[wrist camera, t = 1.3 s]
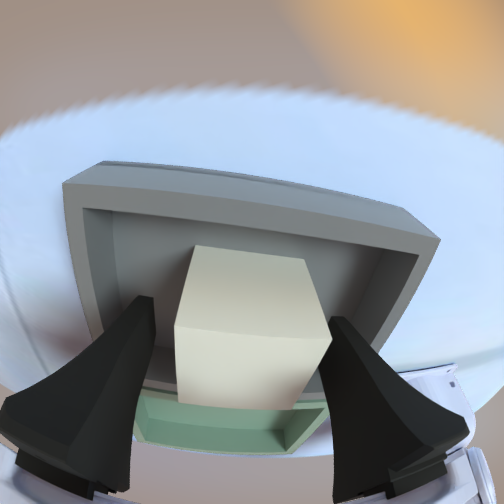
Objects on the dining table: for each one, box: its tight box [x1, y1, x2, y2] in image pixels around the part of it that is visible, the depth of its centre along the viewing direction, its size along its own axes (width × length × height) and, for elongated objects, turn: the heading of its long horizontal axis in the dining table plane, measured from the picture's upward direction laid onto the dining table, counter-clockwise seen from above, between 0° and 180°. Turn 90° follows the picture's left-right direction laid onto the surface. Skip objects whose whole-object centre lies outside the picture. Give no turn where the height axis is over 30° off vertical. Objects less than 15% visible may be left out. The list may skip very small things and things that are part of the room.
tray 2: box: [133, 386, 330, 455], centre depth 17 cm, size 14×11×3 cm
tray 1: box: [62, 161, 441, 400], centre depth 12 cm, size 14×11×3 cm
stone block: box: [174, 245, 332, 410], centre depth 11 cm, size 5×5×5 cm
